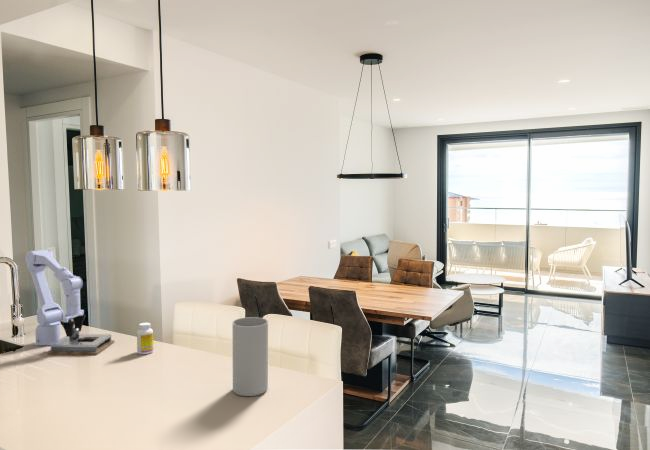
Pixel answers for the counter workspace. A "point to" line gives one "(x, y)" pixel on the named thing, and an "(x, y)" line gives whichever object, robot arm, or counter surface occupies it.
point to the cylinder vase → (250, 356)
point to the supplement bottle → (144, 339)
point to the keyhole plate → (80, 343)
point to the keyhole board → (100, 349)
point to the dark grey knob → (75, 334)
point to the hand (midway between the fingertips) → (73, 333)
